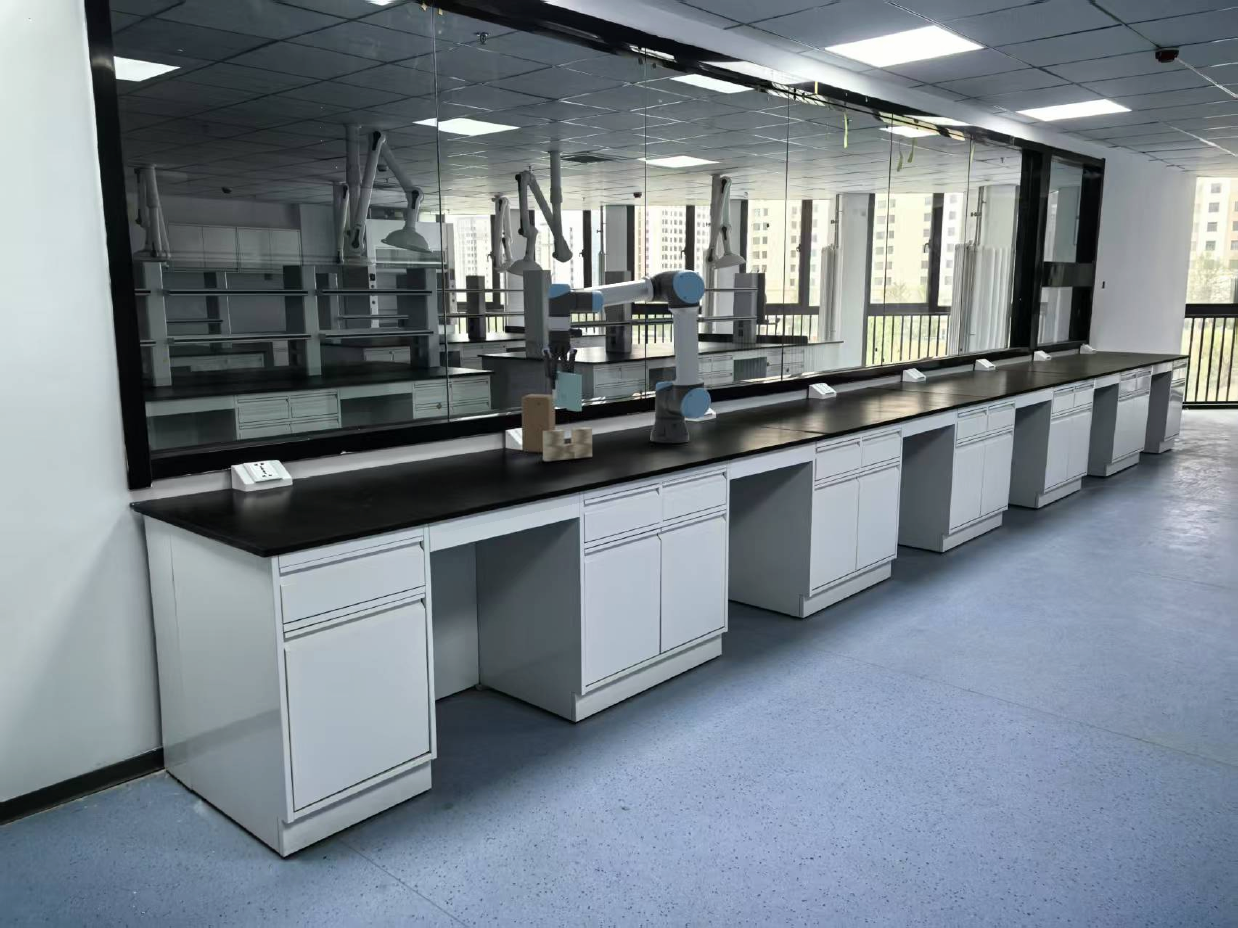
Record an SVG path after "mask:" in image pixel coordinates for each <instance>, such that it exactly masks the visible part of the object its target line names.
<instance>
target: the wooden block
mask: <svg viewBox="0 0 1238 928" xmlns="http://www.w3.org/2000/svg"><path fill="white" fill-rule="evenodd" d="M550 430H556V407H553V394H543V393H542V394H541V393H540V394H539V393H530V394H527V395H524V396H522V397H521V436H522V437H521V439H522V441H521V447H522V451H523V452H524V453H542V454H543V431H550Z"/></svg>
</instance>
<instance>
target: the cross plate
mask: <svg viewBox="0 0 1238 928" xmlns="http://www.w3.org/2000/svg"><path fill="white" fill-rule="evenodd" d="M556 380H558V399H553V407H555V408H559V409H566V410H567V411H572V412H582V411H583V375H582V374H576V373H574V374H572V373H565V372H562V371H557V376H556Z"/></svg>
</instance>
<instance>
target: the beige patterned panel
mask: <svg viewBox="0 0 1238 928" xmlns="http://www.w3.org/2000/svg"><path fill="white" fill-rule="evenodd" d="M570 436H571V437H570V441H571V442H570V443H565V430H564V429H555V430H550V431H543V453H542V461H544V462H551V461H562V460H572V459H582V458H592V457H593V428H592V427H576V428H571V429H570Z"/></svg>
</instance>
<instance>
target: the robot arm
mask: <svg viewBox="0 0 1238 928" xmlns="http://www.w3.org/2000/svg"><path fill="white" fill-rule="evenodd" d="M705 290H706V287H705V281H704V279H703V278H702V276H701V275H700V274H699V273H698V272H696V271H694V270H689V269H681V270H678V269H677V270H667V271H663V272H659V273H655V274H653V275H646V276H642V278H641V279H639V280H632V281H624V282H619V283H611V284H603V285H598V286H589V287H585V288H576V289H572V288H571V284H570V283H551V284H549V286H548V292H547V293H548V295H547V300H548V301H547V304H548V305H547V306H548V309H547V310H548V311H547V312H548V317H547V318H548V321H547V322H548V329H549V330H548V333H547V334H548V335H547V336H548V337H547V338H548V339H547V340H548V345H547V346H546V348H543V349H540V354H541V355H542V360H543V367H544V369H543V370H544V377H545V378H546V379H549V380H550V382H549V383H550V385H549V387H550V390H552V395H553V399H558V380H556V376H557V372H558V366H559V365H558V364H559V360H560V365H561V372H565V373H572V374H575V367H576V366H575V364H576V356H577V353H578V349H576V348H573V347H572V345H571V331H570V329H571V313H599V312H601V311H602V310H603V308H604V307H610V306H616V305H622V304H623V305H624V304H628V303H635V302H636V303H637V302H642V301H643V302H645V303H647V304H648V303H655V302H656V303H657V302H658V303H667V307H668V308H667V309H668V311H670V312H671V314H672V324H673V327H672V328H673V340H674V341H673V342H674V357H675V373H676V378H675V380H673V381H660V382H657V383H656V384H655V390H654V394H655V395H654V396H655V398H654V399H655V402H654V408H655V409H654V413H655V414H654V415H655V416H654V423H653V426H652V429H651V432H650V441H651V442H655V443H661V444H678V443H679V444H680V443H682V444H683V443H687V442H689V441H690V434H689V430H688V427H687V423H686V419H690V420H691V419H695V420H696V419H699V418H701V417H704V416H705V415H706V413H708V412H709V409H710V407H711V404H712V403H711V402H712V399H711V395H710V393H709V392H708V390H707V389H705V380H703V379H702V378H701V376H700V375H701V374H700V361H699V359H700V358H699V343H698V323H697V311H698V310H699V308H700V307H701V304H700V303H701V302H700V301H701V300H702V298H703V297H704V295H705ZM550 354H551V356H550ZM550 359H551V360H550Z"/></svg>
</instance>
